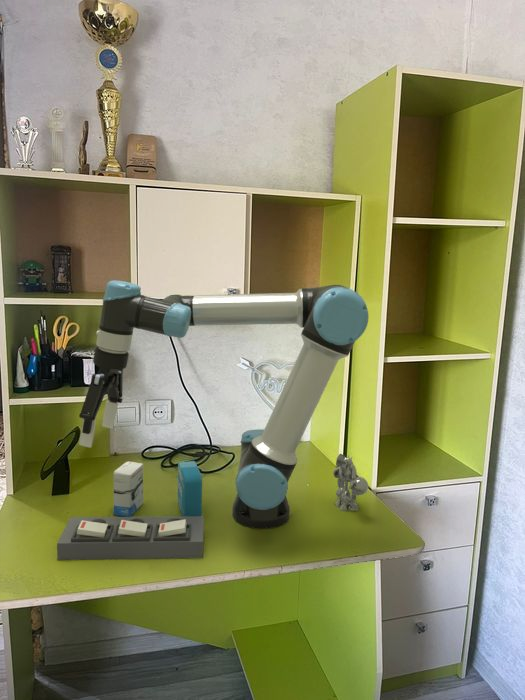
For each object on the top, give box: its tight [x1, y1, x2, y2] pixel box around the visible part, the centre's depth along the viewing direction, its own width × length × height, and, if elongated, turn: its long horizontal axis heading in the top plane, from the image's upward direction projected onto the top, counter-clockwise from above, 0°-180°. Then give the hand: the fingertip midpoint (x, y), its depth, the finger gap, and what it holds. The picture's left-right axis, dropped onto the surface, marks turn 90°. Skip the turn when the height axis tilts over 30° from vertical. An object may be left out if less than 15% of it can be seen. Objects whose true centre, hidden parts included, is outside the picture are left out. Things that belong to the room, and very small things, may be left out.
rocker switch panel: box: [56, 515, 205, 561], centre depth 129 cm, size 32×12×5 cm, turn 95°
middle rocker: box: [118, 520, 147, 537], centre depth 126 cm, size 6×4×1 cm, turn 95°
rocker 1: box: [77, 520, 108, 538], centre depth 125 cm, size 6×4×1 cm, turn 95°
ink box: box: [112, 461, 144, 517], centre depth 146 cm, size 8×5×12 cm, turn 168°
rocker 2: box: [158, 519, 187, 537], centre depth 127 cm, size 6×4×1 cm, turn 95°
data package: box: [177, 460, 203, 516], centre depth 146 cm, size 12×4×12 cm, turn 17°
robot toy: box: [333, 453, 369, 512], centre depth 150 cm, size 15×6×15 cm, turn 17°
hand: (97, 436), depth 129 cm, fingers open, 13 cm apart
